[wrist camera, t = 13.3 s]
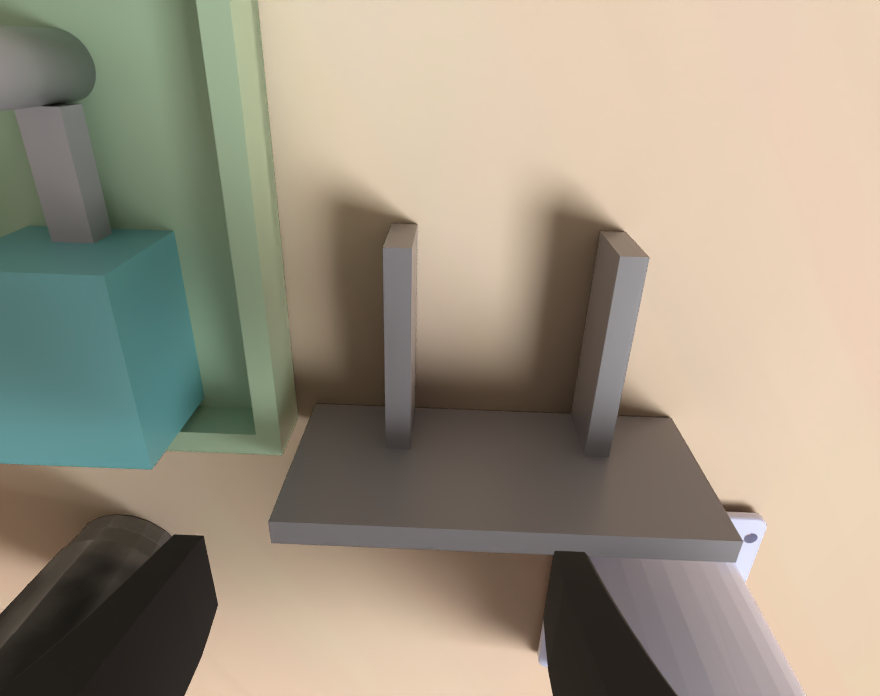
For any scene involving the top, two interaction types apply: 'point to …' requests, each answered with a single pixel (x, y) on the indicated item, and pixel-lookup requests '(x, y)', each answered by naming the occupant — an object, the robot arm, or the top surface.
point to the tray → (185, 189)
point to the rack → (506, 452)
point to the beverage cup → (73, 588)
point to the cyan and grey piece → (83, 290)
